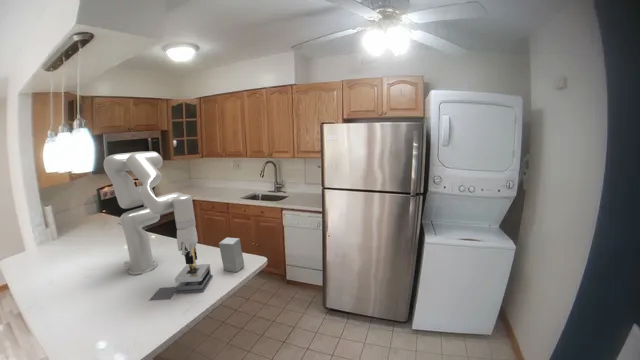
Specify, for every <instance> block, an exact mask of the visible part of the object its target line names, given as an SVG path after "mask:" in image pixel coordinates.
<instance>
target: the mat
mask: <svg viewBox="0 0 640 360" xmlns="http://www.w3.org/2000/svg"><path fill="white" fill-rule="evenodd" d="M176 290H177V289H176V286H170V287H169V286H168V287H159V288H158V289H157V290H156V291H155V293H154V294H153V295H152V296H151V297H150V298H149V300H148V302H152V301H165V300H171V299H172V298H173V296H174V295H176V294H175V291H176Z"/></svg>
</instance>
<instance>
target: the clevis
mask: <svg viewBox="0 0 640 360" xmlns="http://www.w3.org/2000/svg"><path fill="white" fill-rule="evenodd" d="M196 267H197V270H196V271H194V272H190V271H189V265H188V264H185V265H184V266H183V268H182V270H180V271H179V273H178V274H177V275H176V276H175V278H174V282H175V283H176V284H177V283H178V284H177V285H176V286H175V287H176V289H177V290H176V291H175V294H174V295H180V294H181V295H182V294H184V295H185V294H197V293H198V294H199V293H205V291H206V289H207V287H208V286H209V284H210V283H211V281H212V279H213V278H214V274H212V272H211V265H210V263H205V264H204V263H203V264H196Z"/></svg>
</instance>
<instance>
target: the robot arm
mask: <svg viewBox="0 0 640 360" xmlns="http://www.w3.org/2000/svg"><path fill="white" fill-rule="evenodd" d="M163 163H164V161H163V158H162V156H161V155H160V154H159V153H158V152H157V151H153V150H152V151H134V152H133V151H132V152H125V153H124V152H123V153H115V154H111V155H108V156H106V157H105V158H104V160H103V168H104V172H105V173H106V175H107V177H108V178H109V180H110V181H111V184H112V187H113V190H114V194H115V197H116V200H117V204H118V205H119V207H120V208H122V209H126V210H127V209H132V208H135V207H139V206H142V205H143V206H142V207H139V208H135V209H132V210H129V211H126V212H123V213H122V214H121V216H120V217H119V224H120V226H121V228H122V230H123V233H124V236H125V241H126V247H127V251H128V256H129V260H127V261H125V262H124V265H123V267H124V268H129V269H128V274H129V275H135V276H137V275H138V276H139V275H143V274H145V273H148V272H151V271H153V270H155V269H156V268H157V266H158V262H157V261H156V260H154V258H153V253H152V248H151V247H152V246H151V242H150V236H149V233H148V232H147V231H146V230H144V229H143V227H146V226H149V225H151V224H154V223H157V222H158V221H159V220H160V218H161V215H163V214H166V213H169V212H172V211H173V213H174V221H175V226H176V229H177V230H176V242H177V243H176V244H177V250H178V252H181V255H182V256H183V257H184V259H185V265H188V264H194V260H193V255H192V253H191V249H192V248H193V247H194V254H195V261H197V260H198V254H197V244H198V242H199V239H198V232H197V228H196V226H197V225H196V224H197V223H196V218H195V210H194V204H193V199H192V195H190V194H186V193H185V194H183V193H181V192H178V191H175V192H172V193H171V192H170V193H167V194H163V195H159V196H156V195H155V191H154V190H153V188H154V187H156V186H157V185H159V183H160V182H161V181H162V177H163V176H162V173H161V172H160V171H159V170H158V169H159V168H161V167H163ZM127 171H128V172H129V171H131V172H132V173H133V174H134V176H135V177H136V178H137V180H138V181H139V182H140V183H141V185H139V186H136V184H135V181H134V178H133V177H132V176H131V175H130V174H128V172H127ZM186 248H187V249H186ZM186 251H189V252H186Z"/></svg>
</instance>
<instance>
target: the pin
mask: <svg viewBox="0 0 640 360" xmlns="http://www.w3.org/2000/svg"><path fill="white" fill-rule="evenodd" d="M186 249H187V248H186ZM186 252H189V251H186ZM191 253H192V255H193V260H194V264H187V265H189V271H190V272H194V271H196V270H197V267H196V265H197V262H196V261H197V260H195V254H194V247H193V248H192V249H191Z"/></svg>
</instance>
